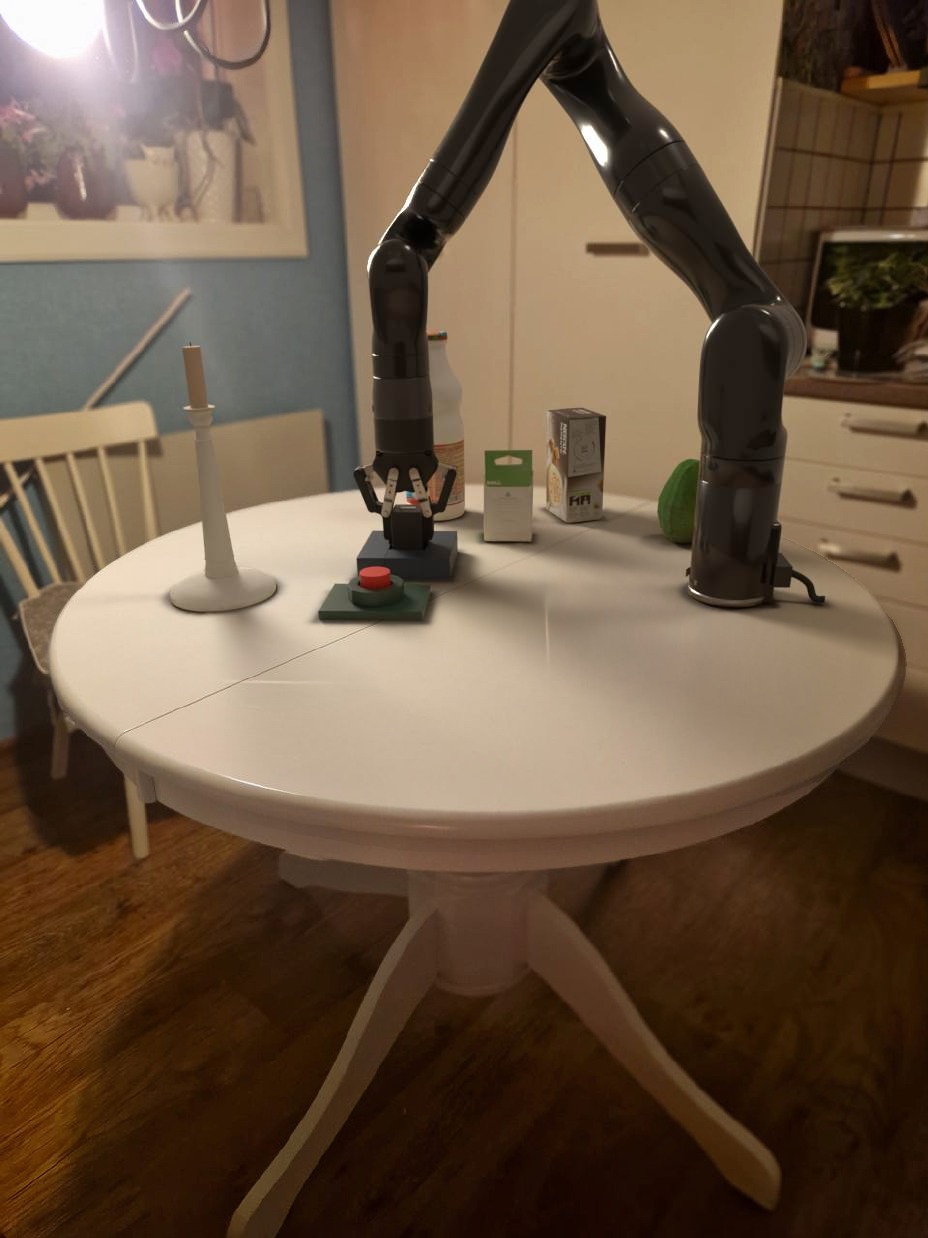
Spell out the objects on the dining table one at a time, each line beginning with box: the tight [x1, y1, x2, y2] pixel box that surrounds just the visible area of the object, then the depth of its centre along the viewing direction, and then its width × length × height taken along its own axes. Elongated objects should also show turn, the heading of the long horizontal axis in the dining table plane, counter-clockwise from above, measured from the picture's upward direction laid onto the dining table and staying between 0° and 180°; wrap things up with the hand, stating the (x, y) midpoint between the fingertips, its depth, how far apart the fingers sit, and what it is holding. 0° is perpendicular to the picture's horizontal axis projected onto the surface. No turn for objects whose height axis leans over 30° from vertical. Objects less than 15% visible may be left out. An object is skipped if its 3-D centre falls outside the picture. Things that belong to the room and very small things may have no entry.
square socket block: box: [356, 530, 459, 581], centre depth 116 cm, size 12×12×3 cm
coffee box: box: [545, 407, 607, 524], centre depth 135 cm, size 9×6×16 cm
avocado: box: [656, 458, 700, 545], centre depth 122 cm, size 8×8×12 cm
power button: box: [359, 567, 391, 589], centre depth 102 cm, size 4×4×2 cm
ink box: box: [483, 449, 534, 542], centre depth 124 cm, size 7×4×13 cm, turn 84°
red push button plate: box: [317, 574, 432, 622], centre depth 102 cm, size 12×9×3 cm
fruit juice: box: [405, 330, 466, 522], centre depth 134 cm, size 9×9×28 cm
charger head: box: [391, 503, 426, 550], centre depth 115 cm, size 4×4×6 cm
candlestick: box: [169, 341, 277, 613], centre depth 102 cm, size 13×13×30 cm
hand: (409, 541), depth 115 cm, fingers closed on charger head, 4 cm apart
